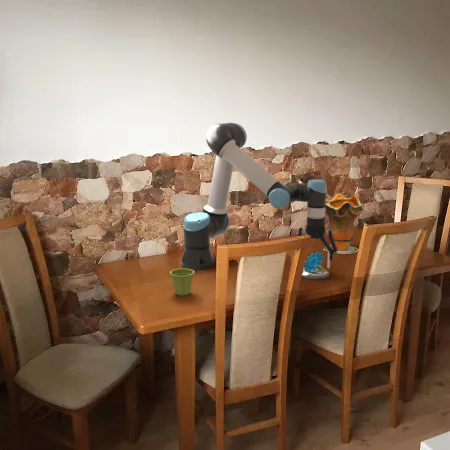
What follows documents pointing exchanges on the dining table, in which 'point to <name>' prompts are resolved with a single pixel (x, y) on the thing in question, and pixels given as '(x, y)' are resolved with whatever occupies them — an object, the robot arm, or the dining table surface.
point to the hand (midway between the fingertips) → (314, 266)
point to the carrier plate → (315, 274)
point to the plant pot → (182, 280)
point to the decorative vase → (343, 221)
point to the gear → (314, 262)
